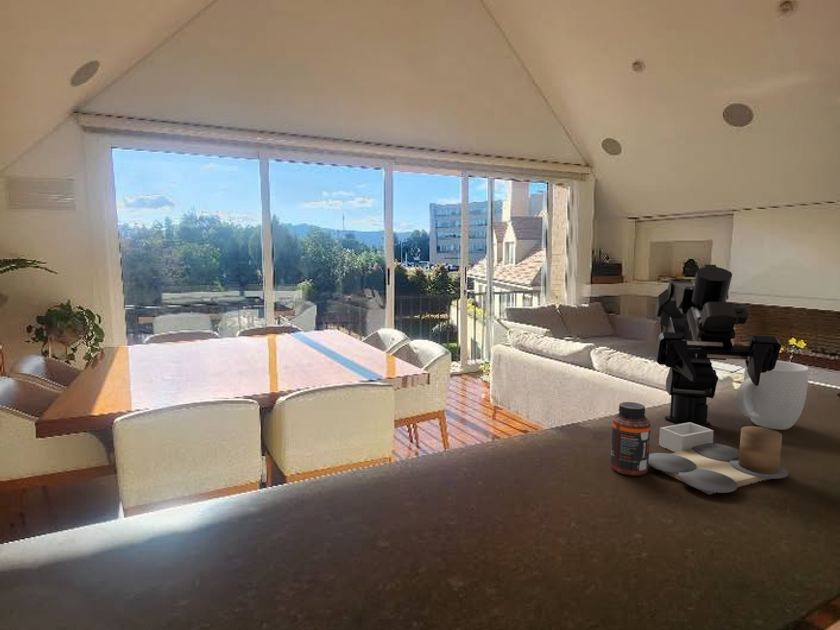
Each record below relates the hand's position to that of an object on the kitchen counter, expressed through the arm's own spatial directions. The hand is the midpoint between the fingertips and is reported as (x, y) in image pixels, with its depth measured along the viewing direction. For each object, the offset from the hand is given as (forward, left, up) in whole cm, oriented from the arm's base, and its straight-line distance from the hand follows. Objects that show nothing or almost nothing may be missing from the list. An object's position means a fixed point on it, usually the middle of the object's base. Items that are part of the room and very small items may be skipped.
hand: (725, 381), depth 83 cm
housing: (-10, +4, -15) cm, 18 cm away
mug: (-12, +30, -16) cm, 36 cm away
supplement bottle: (-6, -14, -16) cm, 22 cm away
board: (-1, -1, -15) cm, 15 cm away
